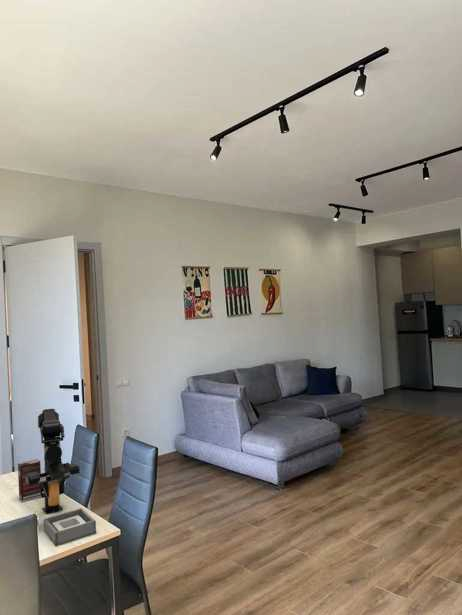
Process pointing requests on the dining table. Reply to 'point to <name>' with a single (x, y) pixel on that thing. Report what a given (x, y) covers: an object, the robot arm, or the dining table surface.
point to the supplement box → (26, 490)
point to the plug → (53, 493)
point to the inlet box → (69, 526)
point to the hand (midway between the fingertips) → (53, 496)
